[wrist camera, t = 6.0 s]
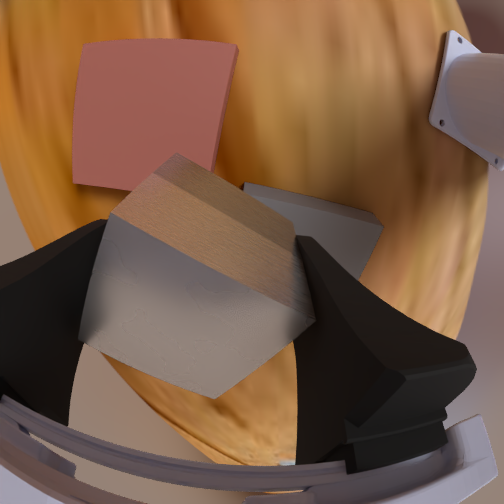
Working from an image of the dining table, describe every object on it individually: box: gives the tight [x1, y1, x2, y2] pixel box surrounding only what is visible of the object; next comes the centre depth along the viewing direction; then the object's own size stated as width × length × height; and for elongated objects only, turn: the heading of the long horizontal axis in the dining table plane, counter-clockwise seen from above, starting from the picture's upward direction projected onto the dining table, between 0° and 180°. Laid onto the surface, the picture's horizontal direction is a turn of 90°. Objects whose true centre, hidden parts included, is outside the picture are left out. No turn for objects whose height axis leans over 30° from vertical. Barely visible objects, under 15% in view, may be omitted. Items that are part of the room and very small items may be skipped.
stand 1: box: [72, 39, 239, 191], centre depth 13 cm, size 9×9×2 cm
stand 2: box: [243, 182, 384, 280], centre depth 19 cm, size 9×9×2 cm
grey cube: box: [78, 152, 316, 399], centre depth 9 cm, size 5×5×5 cm
